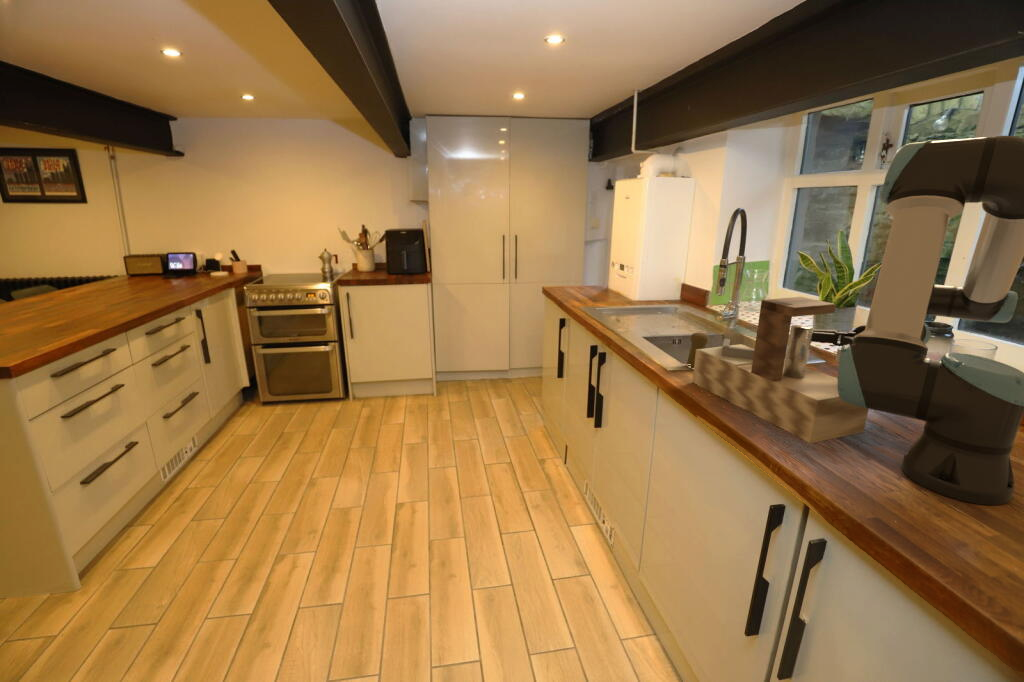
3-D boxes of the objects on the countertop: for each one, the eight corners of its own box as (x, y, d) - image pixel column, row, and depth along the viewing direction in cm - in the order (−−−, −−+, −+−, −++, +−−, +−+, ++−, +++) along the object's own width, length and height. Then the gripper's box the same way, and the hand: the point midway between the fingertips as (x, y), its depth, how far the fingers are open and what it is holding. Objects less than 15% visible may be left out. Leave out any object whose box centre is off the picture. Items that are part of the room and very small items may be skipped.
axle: (807, 379, 110) (816, 329, 107) (786, 378, 111) (795, 329, 108) (800, 373, 114) (808, 325, 111) (780, 371, 115) (788, 324, 112)
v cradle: (778, 360, 124) (780, 349, 123) (735, 366, 119) (737, 355, 119) (738, 345, 136) (739, 336, 136) (698, 350, 132) (699, 340, 131)
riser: (863, 432, 106) (872, 390, 103) (809, 443, 101) (818, 400, 98) (736, 376, 141) (741, 344, 138) (692, 382, 136) (696, 349, 133)
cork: (703, 371, 145) (707, 337, 142) (683, 367, 148) (687, 334, 145) (708, 366, 149) (712, 332, 146) (689, 362, 153) (693, 329, 150)
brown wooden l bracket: (821, 379, 110) (836, 303, 105) (781, 385, 107) (795, 307, 102) (788, 367, 118) (800, 296, 113) (751, 372, 115) (761, 300, 110)
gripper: (926, 368, 109) (859, 379, 102) (826, 340, 131) (766, 347, 125) (934, 337, 107) (866, 346, 100) (831, 314, 129) (771, 320, 123)
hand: (811, 346), depth 113 cm, fingers open, 13 cm apart
